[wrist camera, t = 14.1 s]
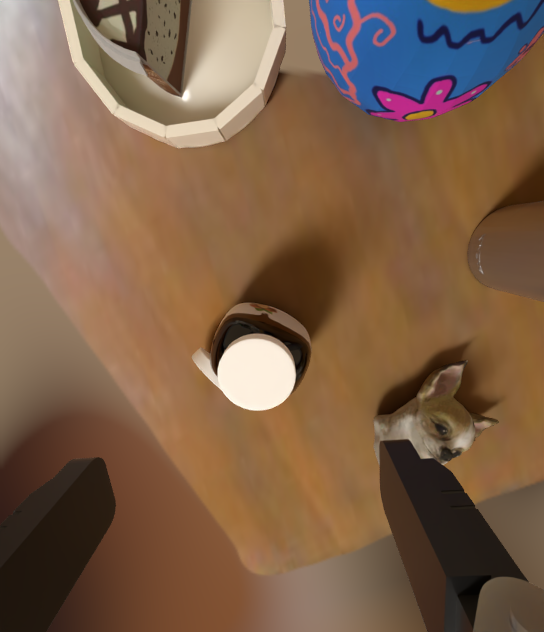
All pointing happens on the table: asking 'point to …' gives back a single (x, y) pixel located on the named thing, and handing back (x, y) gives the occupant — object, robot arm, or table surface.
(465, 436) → the ceramic sculpture
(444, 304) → the table surface
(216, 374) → the spread jar
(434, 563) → the robot arm
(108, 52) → the food container
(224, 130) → the bowl
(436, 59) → the ceramic pot
